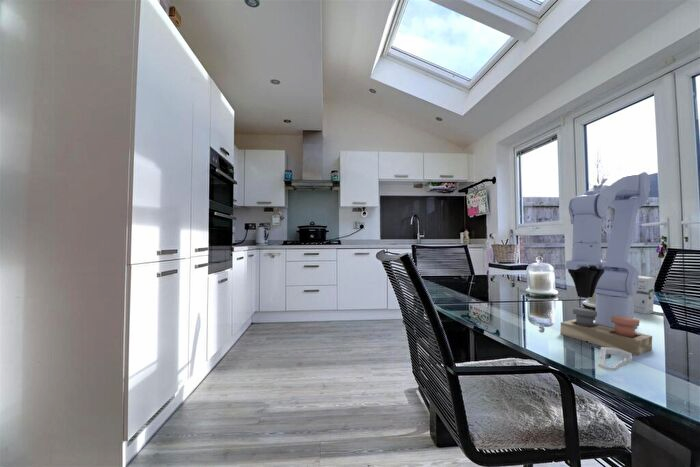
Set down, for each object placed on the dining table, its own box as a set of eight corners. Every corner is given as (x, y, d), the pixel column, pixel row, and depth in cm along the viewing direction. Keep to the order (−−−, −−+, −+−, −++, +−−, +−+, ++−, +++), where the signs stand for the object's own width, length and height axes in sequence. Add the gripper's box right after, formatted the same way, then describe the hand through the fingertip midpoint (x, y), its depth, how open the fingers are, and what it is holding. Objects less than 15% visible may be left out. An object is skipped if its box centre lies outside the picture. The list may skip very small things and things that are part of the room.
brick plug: (616, 330, 74) (616, 314, 74) (642, 336, 69) (643, 320, 69) (606, 333, 71) (607, 317, 71) (633, 339, 67) (633, 322, 67)
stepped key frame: (632, 381, 56) (633, 372, 56) (597, 372, 60) (598, 364, 60) (631, 356, 66) (631, 348, 66) (601, 350, 69) (601, 342, 69)
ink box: (614, 308, 107) (615, 274, 107) (622, 306, 110) (622, 273, 109) (647, 314, 100) (648, 278, 100) (654, 312, 102) (655, 277, 102)
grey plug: (578, 321, 81) (579, 307, 81) (600, 326, 76) (600, 311, 76) (568, 323, 78) (569, 309, 78) (590, 329, 74) (591, 313, 74)
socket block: (576, 329, 82) (577, 318, 82) (651, 349, 69) (652, 336, 69) (560, 334, 79) (560, 322, 79) (636, 355, 65) (636, 341, 65)
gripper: (590, 243, 70) (588, 303, 70) (619, 243, 77) (618, 297, 77) (557, 242, 76) (556, 296, 77) (587, 242, 83) (586, 292, 83)
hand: (585, 296), depth 77 cm, fingers closed
